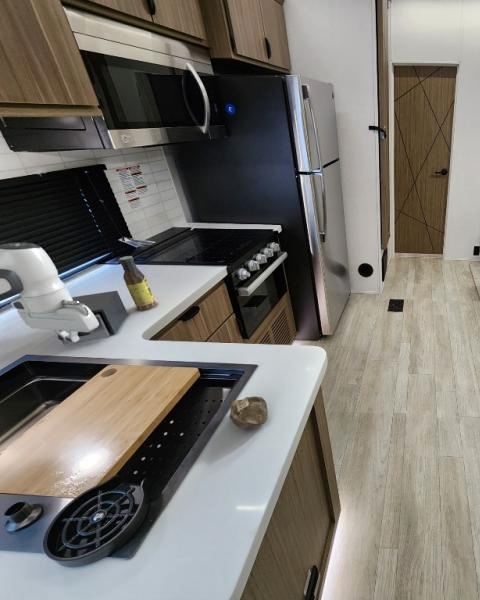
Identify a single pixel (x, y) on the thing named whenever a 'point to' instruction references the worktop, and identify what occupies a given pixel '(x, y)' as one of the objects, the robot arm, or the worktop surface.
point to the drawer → (94, 334)
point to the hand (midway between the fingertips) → (73, 340)
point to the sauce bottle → (137, 284)
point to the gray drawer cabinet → (106, 307)
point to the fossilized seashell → (249, 412)
